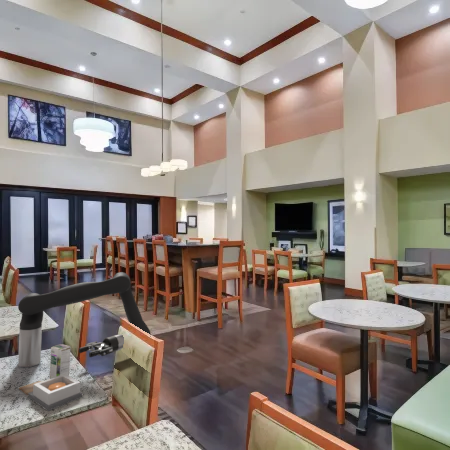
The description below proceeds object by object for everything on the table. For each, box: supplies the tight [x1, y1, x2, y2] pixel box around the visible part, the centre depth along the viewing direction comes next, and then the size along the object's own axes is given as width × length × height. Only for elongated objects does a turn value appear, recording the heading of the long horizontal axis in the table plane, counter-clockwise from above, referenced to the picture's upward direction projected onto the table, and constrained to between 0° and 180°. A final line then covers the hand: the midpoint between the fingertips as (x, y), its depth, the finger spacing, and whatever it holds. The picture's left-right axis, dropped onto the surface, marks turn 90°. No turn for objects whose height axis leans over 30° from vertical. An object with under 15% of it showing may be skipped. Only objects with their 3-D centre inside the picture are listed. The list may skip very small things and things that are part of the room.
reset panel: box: [27, 374, 84, 412], centre depth 127 cm, size 16×13×6 cm
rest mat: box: [18, 380, 42, 396], centre depth 134 cm, size 8×8×1 cm
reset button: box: [48, 382, 66, 391], centre depth 127 cm, size 6×6×2 cm
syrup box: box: [49, 343, 71, 379], centre depth 141 cm, size 6×6×14 cm
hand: (84, 352), depth 150 cm, fingers open, 8 cm apart
